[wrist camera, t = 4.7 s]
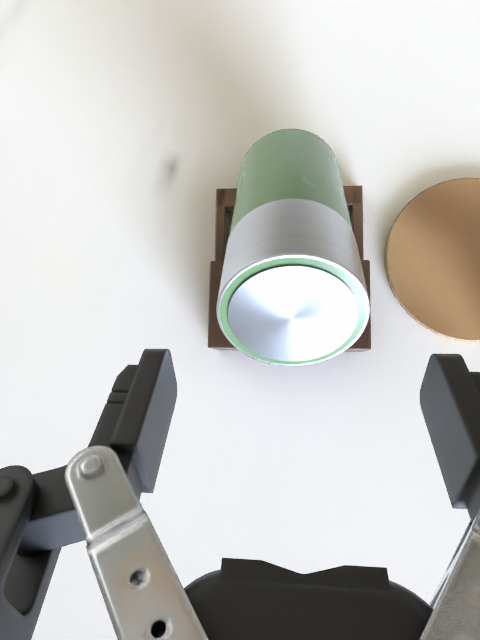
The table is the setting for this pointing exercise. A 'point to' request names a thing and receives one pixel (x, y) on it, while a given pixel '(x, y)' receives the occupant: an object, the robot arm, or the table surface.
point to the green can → (291, 256)
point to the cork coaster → (439, 258)
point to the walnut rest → (224, 205)
